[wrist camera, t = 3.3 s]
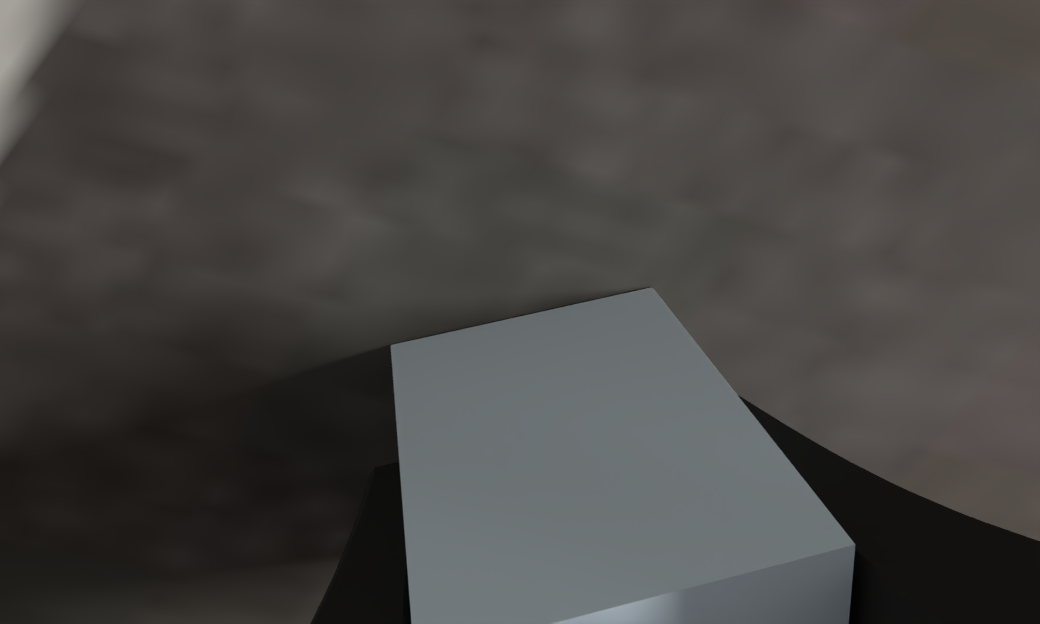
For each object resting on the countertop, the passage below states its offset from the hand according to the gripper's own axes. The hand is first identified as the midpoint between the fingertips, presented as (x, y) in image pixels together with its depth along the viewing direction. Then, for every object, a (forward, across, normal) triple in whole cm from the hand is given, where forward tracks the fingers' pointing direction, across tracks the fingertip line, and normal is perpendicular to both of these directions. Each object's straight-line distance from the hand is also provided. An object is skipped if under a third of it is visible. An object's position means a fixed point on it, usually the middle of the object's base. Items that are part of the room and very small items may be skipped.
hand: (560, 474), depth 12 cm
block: (+1, 0, 0) cm, 1 cm away
